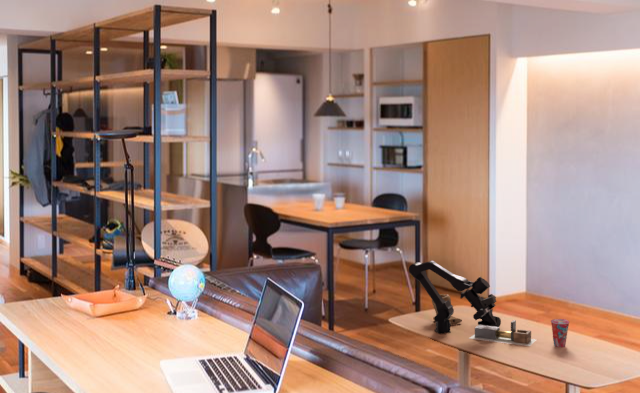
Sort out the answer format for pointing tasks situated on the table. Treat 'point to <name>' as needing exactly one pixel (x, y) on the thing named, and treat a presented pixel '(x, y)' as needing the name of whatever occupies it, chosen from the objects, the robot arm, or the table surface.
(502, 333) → the sliding bolt
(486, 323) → the end cap
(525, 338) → the socket
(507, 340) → the board
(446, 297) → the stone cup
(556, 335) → the cup
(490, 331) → the sleeve
